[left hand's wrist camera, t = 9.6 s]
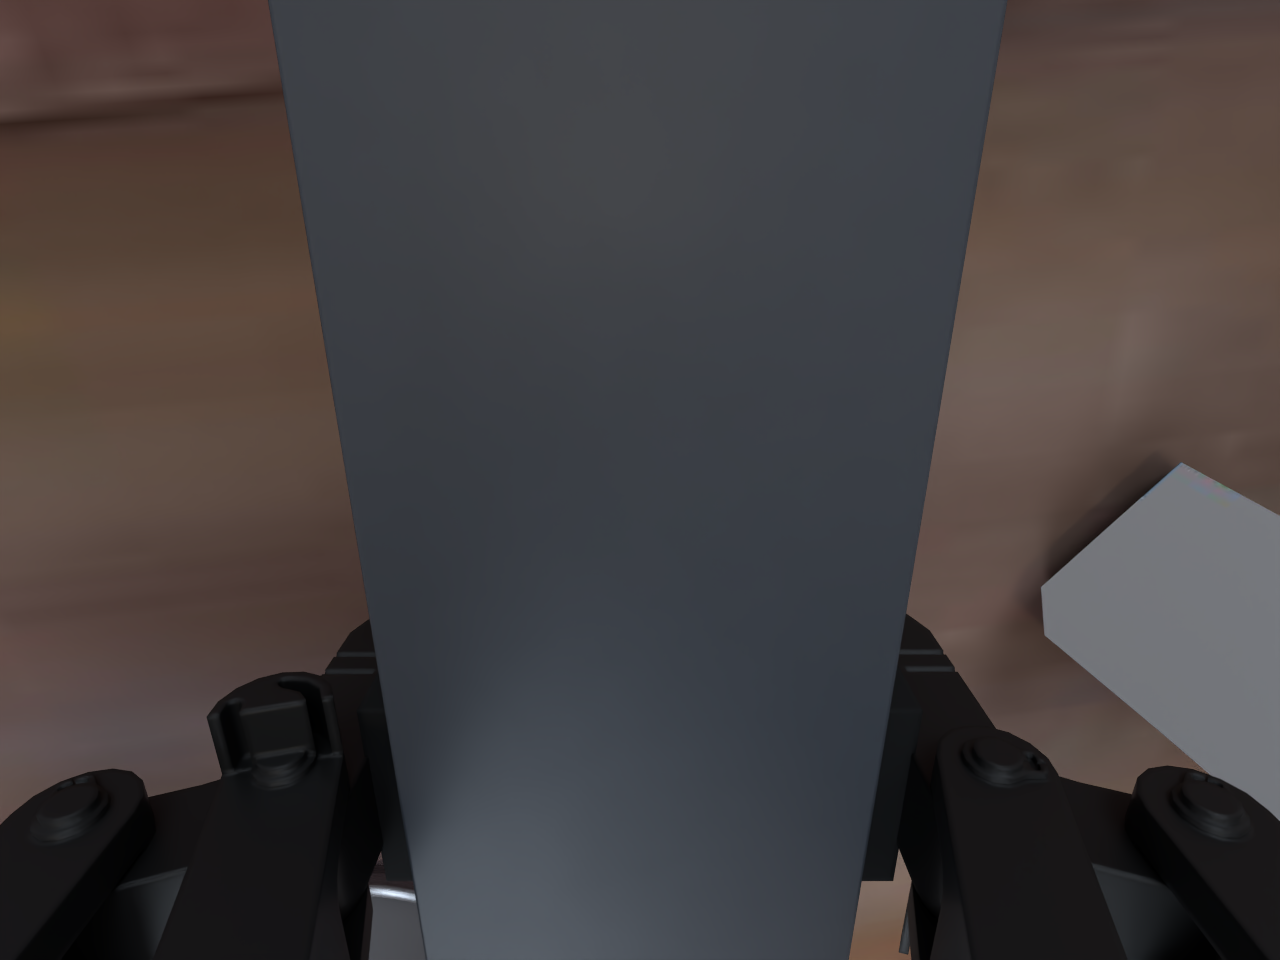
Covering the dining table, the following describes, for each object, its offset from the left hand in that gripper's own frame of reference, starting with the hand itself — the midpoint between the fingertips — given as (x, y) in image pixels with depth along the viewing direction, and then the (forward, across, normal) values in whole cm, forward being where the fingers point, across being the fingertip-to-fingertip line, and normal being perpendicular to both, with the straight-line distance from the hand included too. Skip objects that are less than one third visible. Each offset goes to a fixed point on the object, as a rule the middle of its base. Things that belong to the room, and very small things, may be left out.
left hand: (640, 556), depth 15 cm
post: (0, 0, -30) cm, 30 cm away
